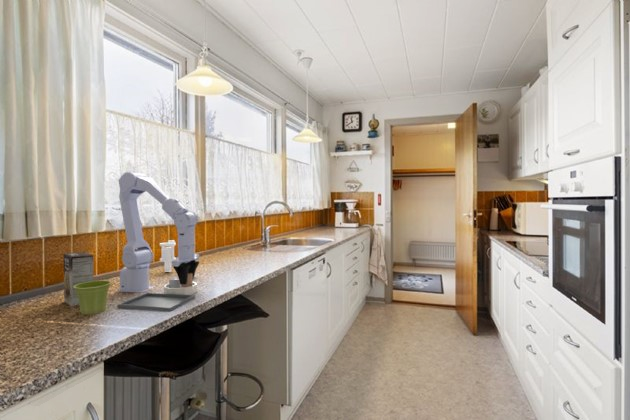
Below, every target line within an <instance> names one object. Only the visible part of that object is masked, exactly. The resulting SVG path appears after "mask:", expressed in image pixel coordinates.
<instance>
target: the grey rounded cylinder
mask: <svg viewBox="0 0 630 420" xmlns="http://www.w3.org/2000/svg"><path fill="white" fill-rule="evenodd" d="M168 283H169V288H180V281H179V278H178V277H174V278H169V279H168Z"/></svg>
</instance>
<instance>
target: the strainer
mask: <svg viewBox="0 0 630 420" xmlns="http://www.w3.org/2000/svg"><path fill="white" fill-rule="evenodd" d="M175 246H177V242H176V241H175V239H172V240H171V239H169V240H167V242H160V243H159V247H161V253H160V254H161V257H160V258H159V262H161V263H164V266H163V267H164V273H165V272H170V273H172V272H173V271H172V269H173V268H172V267H173V266H172V261H173V260H175V259H177V257H175Z"/></svg>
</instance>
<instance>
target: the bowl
mask: <svg viewBox="0 0 630 420" xmlns="http://www.w3.org/2000/svg"><path fill="white" fill-rule="evenodd" d="M197 286H198V284H197V282H196V281H193V285H192V286H190V287H181V284H180V288H169V282H168V283H166V284H164V286H163V293H165V294H184V295H195V294H196V293H197V292H198V290H197V288H198V287H197Z"/></svg>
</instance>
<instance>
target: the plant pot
mask: <svg viewBox="0 0 630 420" xmlns="http://www.w3.org/2000/svg"><path fill="white" fill-rule="evenodd" d="M111 284H112V282H111V281H110V280H102V279H101V280H93V281H89V282H84V283H80V284H77V285H74V286H73V287H74V289H75V290H76V293H77V295H78V300H79V309H80V314H82V315H94V314H99V313H102V312H104V311H106V309H107V299H108V291H109V289H110V285H111Z"/></svg>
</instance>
